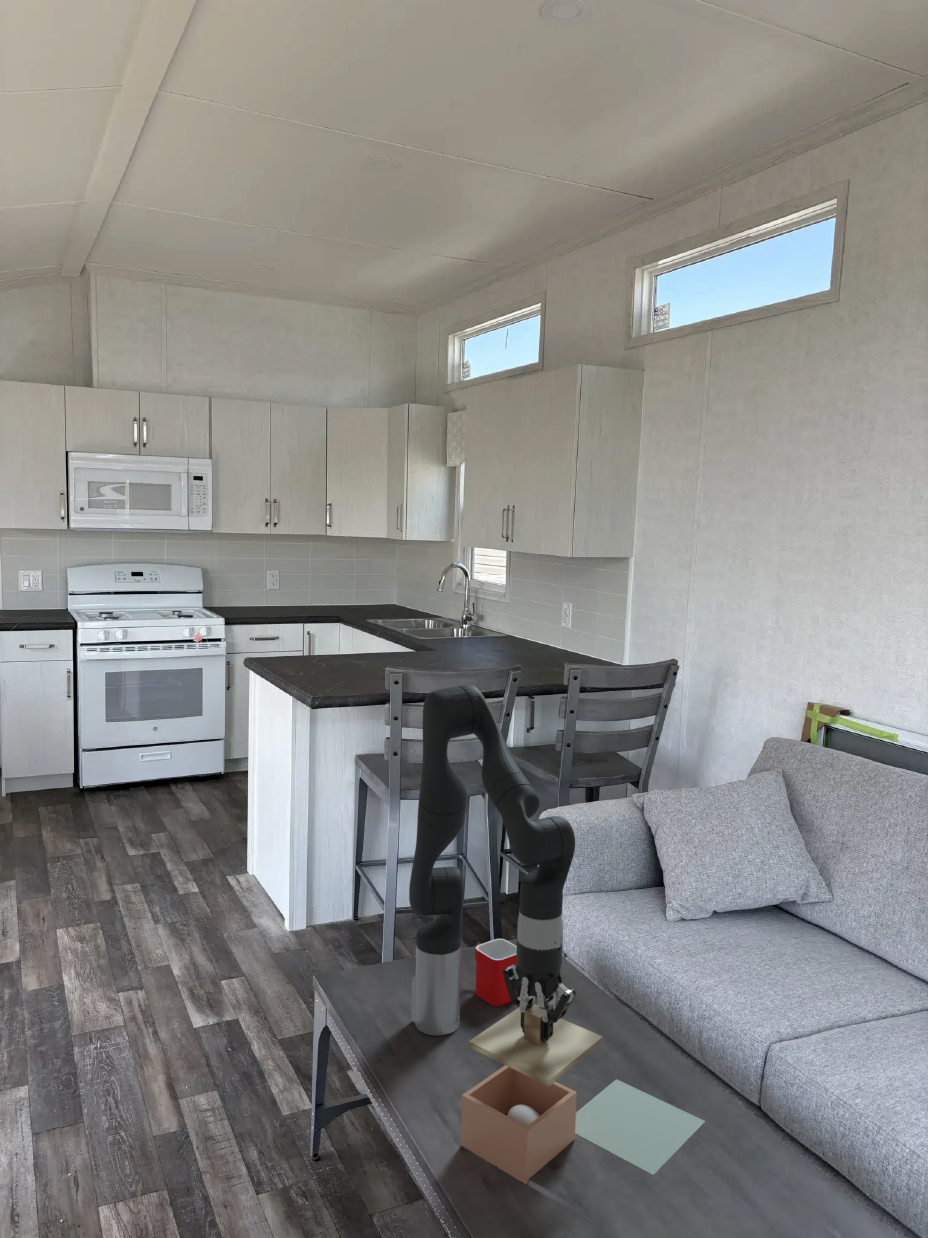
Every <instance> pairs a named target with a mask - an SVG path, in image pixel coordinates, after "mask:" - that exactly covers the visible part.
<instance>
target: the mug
mask: <svg viewBox="0 0 928 1238" xmlns="http://www.w3.org/2000/svg"><path fill="white" fill-rule="evenodd" d="M474 946H475V947H474V958H475V964H476V965H475V970H476V971H475V995H476V996H477V997H478V998H480V999H481V1000H483V1001H484V1002H486V1003H488V1004H489V1005H490V1006H493V1007H501V1006H504V1005H506V1004H509V1003H511V1000H510V997H509V993H508V990H507V987H506V983H505V980H504V977H503V973H502V971H503V970H504V969H506V968H507V967H509V966H511V965H512V964H513V965H515V966H516V965H517V961H516V954H517V944H516V945H515V944H514V943H512V942H510V940H509V941H508V940H507V939H505V938H496V939H491V940H489V941H486V942H484V943H479V942H478V943H476V944H475V945H474ZM515 992H516V989H515ZM516 995H517V993H516Z"/></svg>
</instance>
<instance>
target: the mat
mask: <svg viewBox="0 0 928 1238" xmlns="http://www.w3.org/2000/svg"><path fill="white" fill-rule="evenodd" d="M705 1122H706V1120H704V1119H702V1118H700V1117H697V1116H695V1115H693V1114H691V1113H689V1112H687V1111H684V1110H682V1109H680V1108H678V1107H676V1106H674V1105H672V1104H670V1103H668V1102H666V1101H663V1100H661V1099H659V1098H657V1097H655V1096H653V1095H651V1094H649V1093H647V1092H644V1091H642V1090H640V1089H638V1088H636V1087H634V1086H631V1085H630V1084H627V1083H625V1082H623V1081H621V1080H619V1079H615V1080H613V1081H612V1082H611V1083H610V1084H609V1085H607V1086H606V1087H604V1089H602V1091H601V1092H599V1093H597V1095H595V1096H594V1097H593V1098H592V1099H591V1100H590V1101H588V1102H587V1103H586V1104H585V1105H584V1106H582V1107H581V1108H580V1109H579V1110H576V1125H575V1135H577V1136H579V1137H581V1138H582V1139H584V1140H586V1141H588V1142H590V1143H592V1144H594V1145H595V1146H598V1147H600V1148H601V1149H604V1150H605V1151H607V1152H608V1153H611V1154H613V1155H615V1156H616V1157H618V1158H620V1159H622V1160H624V1161H626V1162H627V1163H629V1164H632V1165H633V1166H635V1167H636V1168H639V1169H641V1170H643V1171H645V1172H646V1173H648V1174H651V1175H652V1176H654V1175H655V1174H656V1173H657V1172H658V1171H659V1170H660V1169H661V1168H662V1167H663V1166H664V1165H665V1164H666V1163H667V1162H668V1161H669V1160H670V1159H671V1157H673V1156H674V1154H676V1153H677V1152H678V1150H679V1149H680V1148H681V1147H682V1146H683V1145H684V1144H685V1143H686V1142H687V1141H688V1140H689V1139H690V1138H691V1137H692V1136H693V1135H694V1134H695V1133H696V1132H698V1130H699V1129H700V1128H701V1126H703V1125H704V1124H705Z"/></svg>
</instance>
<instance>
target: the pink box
mask: <svg viewBox="0 0 928 1238" xmlns="http://www.w3.org/2000/svg"><path fill="white" fill-rule="evenodd" d="M577 1095H578V1094H577V1091H575V1090H574V1089H571V1088H569V1087H568V1086H565V1085H563V1084H562V1083H559V1082H557V1081H555V1082H554V1083H552V1084H551V1085H550V1086H547V1085H545V1084H543V1083H541V1082H539V1081H537V1080H535V1079H533V1078H531V1077H529V1076H527V1075H525V1074H523V1073H521V1072H519V1071H517V1070H514V1069H512V1068H510V1067H508V1066H506V1065H503V1066H502V1067H501V1068H499V1069H497V1070H496V1071H495V1072H493V1073H492V1074H490V1075H489V1076H488V1077H486V1078H485V1079H483V1080H481V1081H480V1082H479V1083H477V1084H476V1085H475V1086H473V1087H471V1088H470V1089H468V1090H467V1091H466V1092H464V1093H463V1094H462V1095H461V1125H460V1126H461V1127H460V1128H461V1131H460V1132H461V1133H460V1135H461V1136H460V1146H461V1147H463V1148H465V1149H466V1150H468V1151H470V1152H471V1153H473V1154H474V1155H476V1156H478V1157H479V1158H480V1159H483V1160H485V1161H486V1162H488V1163H489V1164H491V1165H493V1166H495V1167H496V1168H498V1169H499V1170H501V1171H502V1172H505V1173H506V1174H508V1175H509V1176H511V1177H513V1178H514V1179H516V1180H518V1181H519V1182H520V1183H521V1182H522V1183H523V1184H524V1185H528V1183H530V1182H531V1181H532V1179H531V1178H532V1177H533V1176H534V1175H535V1174H537V1172H539V1171H540V1170H541V1169H542V1168H543V1167H545V1165H547V1164H548V1163H549V1162H551V1161H552V1160H553V1159H554V1158H556V1156H557V1155H558V1154H560V1152H562V1151H563V1150H564V1149H566V1147H568V1146H569V1145H570V1144H571V1143H572V1142H573V1141H574V1140H576V1134H575V1125H576V1112H577ZM516 1105H527V1106H529V1107H531V1108H533V1109H534V1110H535V1111H537V1113H538V1114H539V1115H540V1116H539V1117H538V1118H537V1119H536V1120H534V1121H533V1122H532V1123H531V1124H529V1125H528V1126H527V1127H526V1126H524V1125H523V1124H521V1123H519V1122H517V1121H515V1120H514V1119H512V1118H510V1117H508V1116H507V1114H508V1112H509V1110H510V1109H511V1108H512V1107H514V1106H516Z"/></svg>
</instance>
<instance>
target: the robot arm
mask: <svg viewBox="0 0 928 1238" xmlns="http://www.w3.org/2000/svg"><path fill="white" fill-rule="evenodd" d="M469 735H475V737H477V739H478V740H479V742H480V744H481V745H482V753H483V755H482V761H481V763H482V765H481V779H482V784H483V787H484V791H486V793H487V795H488V797H489V799H490V800H491V802H492V803H493V805H494V807H495V808H496V809H497V811H498V813H499V814H500V816H501V819H502V822H503V826H504V828H505V832H506V835H507V839H508V843H509V847H510V850H511V852H512V854H513V856H514V858H515V859H516V860H517V861H518V862H520V863H521V864H523V865H525V866H527V867H534V866H537V867H536V868H535V869H534V870H532V871H531V872H528V873H527V874H525V875H524V876H523V877H522V879H521V881H520V886H519V910H518V916H517V917H518V918H517V924H516V925H517V926H516V930H517V931H516V946H517V954H516V961H517V965H516V966H515V965H513V964H512V965H511V966H509V967H507V968H506V969H504V970H503V971H502V973H503V977H504V980H505V983H506V987H507V990H508V993H509V997H510V1000H511V1002H510V1003H511V1004H512V1005H513V1006H517V1008H519V1009H520V1011H521V1023H520V1025H521V1028H522V1032H523V1033H524V1017H525V1011H526V1010H527V1009H529V1008H530V1007H531V1006H533V1005H534V1003H535V999H536V998H537V1005H538V1007H539V1008H540V1009H541V1018H542V1020H541V1033H540V1040H541V1041H542V1042H546V1041H547V1040H548V1039H550V1038H551V1037H552V1035H553V1024H554V1023H556V1022H557V1021H558V1020H559V1019H564V1017H566V1014H567V1012H568V1011H569V1009H570V1007H571V1004H572V1002H573V1000H574V999H575V997H576V994H577V992H576V990H575V989H574V988H570V989H569V988H568V986H566V985H565V984H563V977H562V976H561V969H562V964H563V943H564V942H563V941H564V920H563V905H564V904H563V901H564V900H563V899H564V887H565V885H566V881H567V878H568V874H569V872H570V868H571V866H572V865H571V864H572V863H573V858H574V855H575V851H576V837H575V836H576V835H575V831H574V829H573V826H572V824H571V823H570V822H569V820H567V819H566V818H564V817H562V816H559V815H558V816H557V815H554V816H553V815H552V816H548V817H543V818H539V819H533V820H531V819H530V818H532V817H533V816H534V815H535V814H536V813H537V811H538V810H539V807H540V797H539V796H538V794H537V792H536V790H535V788H534V787H533V786H532V785H531V783H530V782H529V780H528V778H526V776H525V775H524V773H523V772H522V770H521V768H520V767H519V765H518V764H517V762H516V761H515V759H514V757H513V755H512V753H511V751H510V749H509V747H508V745H507V742H506V740H505V738H504V736H503V733H502V731H501V728H500V726H499V725H498V723H497V720H496V719H495V716H494V714H493V712H492V710H491V708H490V706H489V704H488V702H487V700H486V698H485V696H484V694H482V692H481V690H479V689H478V688H477V687H476V686H475V685H471V684H464V685H458V686H452V687H447V688H440V689H436V690H433V691H431V692H429V693H428V694H427V695H426V697H425V699H424V702H423V708H422V765H421V766H422V767H421V778H420V789H419V795H418V804H417V805H418V807H417V823H416V824H417V825H416V839H415V841H416V842H415V850H414V855H413V862H412V867H411V873H410V879H409V888H408V889H409V890H408V891H409V892H408V895H409V896H408V899H409V905H410V908H411V910H412V912H413V913H414V914H415V915H417V916H425V917H427V916H437V915H438V916H437V917H436V918H435V919H433V920H431V921H429V922H427V923H424V924H423V925H421V927H419V928H418V930H417V931H416V934H415V936H416V937H415V939H416V940H415V975H414V976H413V977H412V979H411V1022H412V1023H413V1024H414V1025H415V1028H416V1029H417V1030H418V1031H419V1032H421V1033H423V1034H426V1035H429V1036H435V1037H436V1036H446V1035H450V1034H452V1033H454V1032H455V1031H457V1030H458V1029H459V1027H460V1021H461V1020H460V1014H461V1013H460V1012H461V977H462V976H461V974H462V973H461V971H462V970H461V969H462V968H461V967H462V932H463V914H464V913H463V911H464V901H465V898H464V897H465V882H464V876H463V874H462V872H461V871H462V870H460V868H458V867H457V866H440V867H434V866H435V864H436V862H437V860H438V858H439V857H440V856H441V854H442V853H443V852H444V851H445V850H446V849H447V848H448V846H449V845H451V843H452V842H453V841H454V840H455V838H456V837H457V836H458V835H459V833H460V832H461V830H462V828H463V826H464V823H465V821H466V820H465V818H466V811H467V809H466V808H467V802H468V795H467V789H466V787H465V784H464V782H463V781H462V778H461V777H460V775H458V773H457V771H456V770H455V769H454V767H453V766H452V764H451V763H450V760H449V758H448V748H449V747H448V746H449V741H450V740H451V739H456V738H460V737H461V738H462V737H466V736H469ZM515 989H516V992H515ZM557 991H558V995H557V996H556V992H557ZM516 993H517V995H516ZM557 1000H558V1002H557ZM556 1002H557V1004H556Z"/></svg>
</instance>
